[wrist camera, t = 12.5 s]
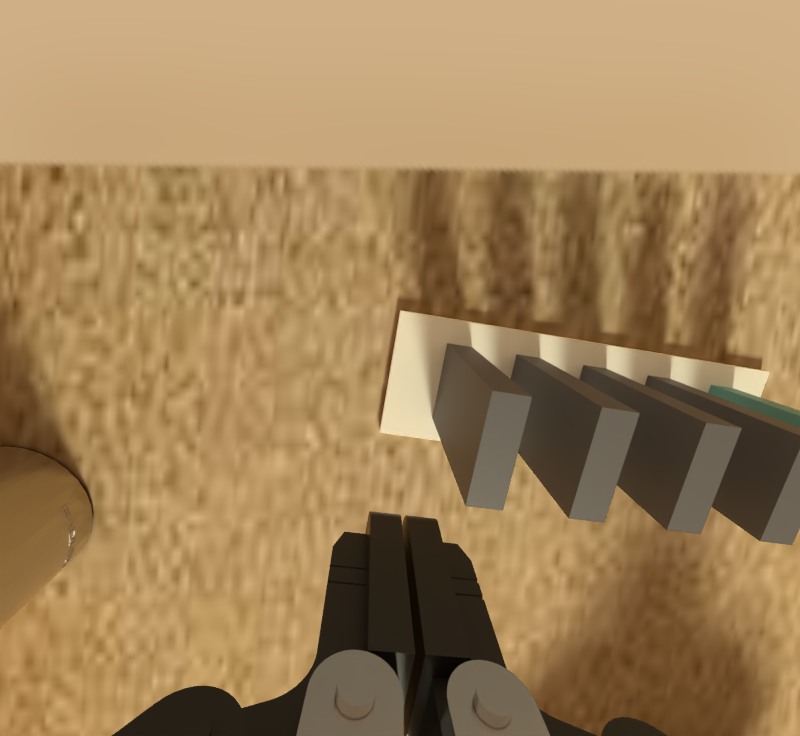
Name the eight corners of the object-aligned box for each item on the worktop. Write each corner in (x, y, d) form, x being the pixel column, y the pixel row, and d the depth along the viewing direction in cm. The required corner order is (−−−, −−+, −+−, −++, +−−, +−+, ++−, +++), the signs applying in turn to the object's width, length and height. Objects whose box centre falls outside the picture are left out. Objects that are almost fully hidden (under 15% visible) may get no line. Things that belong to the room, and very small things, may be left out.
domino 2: (498, 427, 27) (568, 518, 17) (516, 354, 26) (602, 407, 16) (521, 430, 27) (604, 522, 17) (540, 357, 26) (639, 413, 16)
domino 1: (432, 418, 26) (465, 505, 17) (447, 343, 25) (492, 390, 16) (456, 421, 27) (502, 510, 17) (472, 347, 25) (532, 396, 16)
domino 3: (563, 436, 27) (666, 529, 18) (583, 364, 26) (706, 422, 16) (585, 439, 27) (700, 534, 18) (606, 368, 26) (741, 428, 17)
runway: (379, 429, 27) (379, 432, 26) (400, 309, 25) (400, 310, 25) (720, 475, 29) (727, 479, 29) (761, 369, 28) (770, 372, 27)
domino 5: (625, 445, 28) (760, 541, 18) (647, 375, 27) (804, 437, 17) (646, 448, 28) (792, 544, 18) (670, 378, 27) (838, 442, 17)
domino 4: (686, 453, 28) (849, 551, 18) (711, 384, 27) (899, 450, 17) (707, 456, 28) (880, 554, 19) (732, 388, 27) (931, 455, 17)
